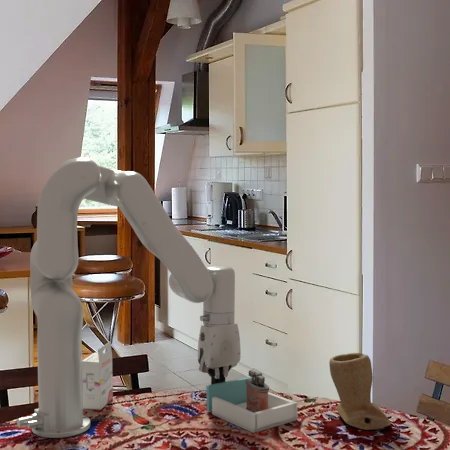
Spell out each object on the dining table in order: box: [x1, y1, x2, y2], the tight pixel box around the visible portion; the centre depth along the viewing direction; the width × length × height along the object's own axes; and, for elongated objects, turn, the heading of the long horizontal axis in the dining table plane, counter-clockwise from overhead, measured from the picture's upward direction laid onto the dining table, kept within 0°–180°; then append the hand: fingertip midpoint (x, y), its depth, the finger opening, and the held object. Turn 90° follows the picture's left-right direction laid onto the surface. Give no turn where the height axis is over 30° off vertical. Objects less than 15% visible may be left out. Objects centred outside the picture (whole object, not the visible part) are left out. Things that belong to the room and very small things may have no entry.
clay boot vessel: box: [328, 352, 391, 431], centre depth 157 cm, size 15×12×15 cm
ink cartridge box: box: [82, 341, 114, 410], centre depth 169 cm, size 9×5×15 cm, turn 168°
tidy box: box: [211, 391, 298, 434], centre depth 159 cm, size 13×15×4 cm
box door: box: [205, 376, 252, 412], centre depth 166 cm, size 13×1×6 cm, turn 123°
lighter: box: [246, 369, 270, 413], centre depth 158 cm, size 8×3×10 cm, turn 26°
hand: (218, 393), depth 167 cm, fingers closed
